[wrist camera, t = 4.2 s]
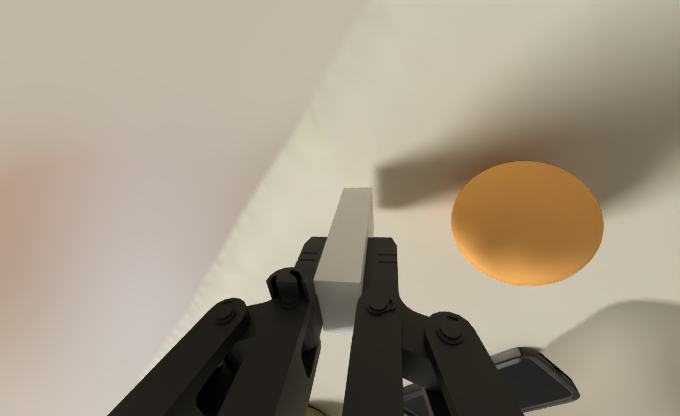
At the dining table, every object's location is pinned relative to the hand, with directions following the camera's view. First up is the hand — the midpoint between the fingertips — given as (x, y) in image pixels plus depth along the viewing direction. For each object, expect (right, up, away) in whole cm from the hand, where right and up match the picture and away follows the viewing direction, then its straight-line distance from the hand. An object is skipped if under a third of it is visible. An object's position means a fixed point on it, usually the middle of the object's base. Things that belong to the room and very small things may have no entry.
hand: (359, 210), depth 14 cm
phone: (+11, -17, +11) cm, 23 cm away
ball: (+7, -1, -2) cm, 7 cm away
